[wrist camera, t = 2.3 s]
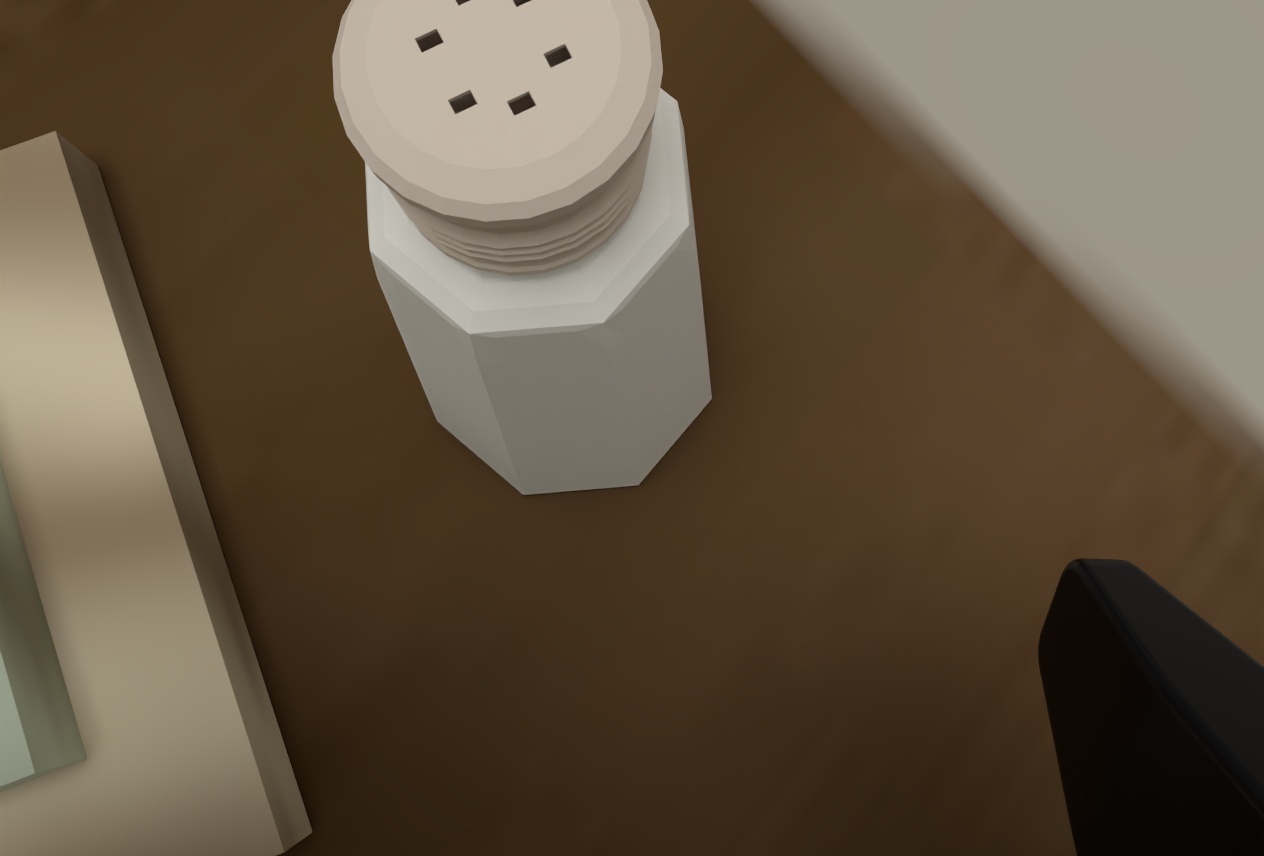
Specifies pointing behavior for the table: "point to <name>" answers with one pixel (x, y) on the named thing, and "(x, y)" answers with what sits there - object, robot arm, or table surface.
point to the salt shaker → (532, 227)
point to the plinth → (112, 565)
